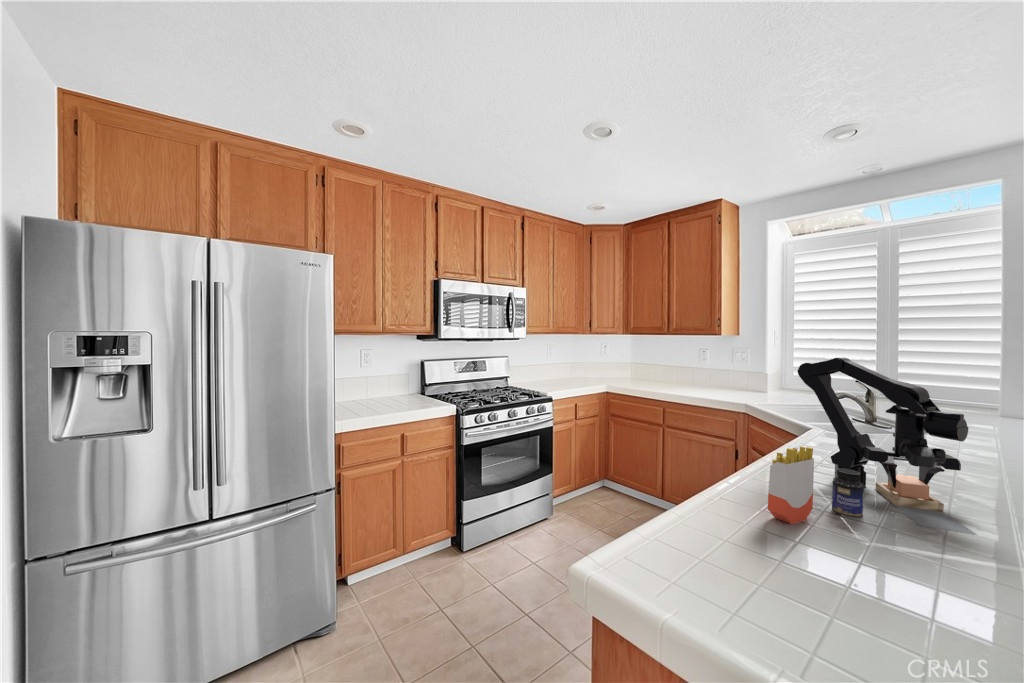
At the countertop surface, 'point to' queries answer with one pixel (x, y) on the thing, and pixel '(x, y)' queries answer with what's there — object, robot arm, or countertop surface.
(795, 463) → the french fries container
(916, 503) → the tray
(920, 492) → the card deck block
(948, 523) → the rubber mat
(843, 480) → the pill bottle
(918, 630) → the countertop surface
